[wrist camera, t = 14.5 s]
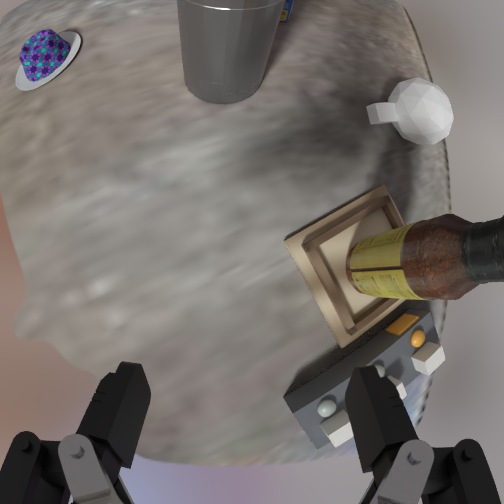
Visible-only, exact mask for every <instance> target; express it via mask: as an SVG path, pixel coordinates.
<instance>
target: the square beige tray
mask: <svg viewBox="0 0 504 504" xmlns="http://www.w3.org/2000/svg"><path fill="white" fill-rule="evenodd" d="M403 226H405V223H404V221H403V219H402V217H401V215H400V213H399V211H398V209H397V207H396V205H395V203H394V201H393V199H392V197H391V195H390V193H389V192H388V190H387V188H386V186H385V184H383V185H381V186H379V187H378V188H376V189H374V190H372V191H371V192H369V193H367V194H365V195H364V196H362V197H360V198H358V199H357V200H355V201H353V202H351V203H350V204H348V205H346V206H344V207H343V208H341V209H339V210H337V211H336V212H334V213H332V214H330V215H329V216H327V217H325V218H323V219H322V220H320V221H318V222H316V223H315V224H313V225H311V226H309V227H308V228H306V229H304V230H302V231H301V232H299V233H297V234H295V235H294V236H292V237H290V238H288V239H287V240H285V241H284V243H285V244H286V246H287V248H288V250H289V252H290V253H291V255H292V257H293V259H294V261H295V263H296V264H297V266H298V268H299V270H300V272H301V274H302V276H303V277H304V279H305V281H306V283H307V285H308V287H309V289H310V290H311V292H312V294H313V296H314V298H315V300H316V302H317V304H318V306H319V307H320V309H321V311H322V313H323V315H324V317H325V319H326V321H327V323H328V325H329V327H330V329H331V330H332V332H333V334H334V336H335V338H336V340H337V342H338V344H339V346H340V347H341V348H344V347H345V346H347V345H348V344H349V343H351V342H352V341H354V340H355V339H356V338H358V337H359V336H360V335H362V334H363V333H365V332H366V331H367V330H369V329H370V328H371V327H373V326H374V325H375V324H376V323H378V322H379V321H380V320H382V319H383V318H384V317H385V316H387V315H388V314H389V313H390V312H392V311H393V310H394V309H395V308H397V307H398V306H399V305H400V304H401V303H403V302H404V301H405V300H406V299H398V298H385V297H373V296H369V295H366V294H362V293H359V292H358V291H356V289H354V287H353V286H352V285H351V284H350V282H349V280H348V278H347V275H346V262H347V257H348V254H349V251H350V250H351V248H352V247H354V246H355V245H356V244H357V243H359V242H360V241H361V240H362V239H364V238H367V237H370V236H373V235H376V234H380V233H383V232H386V231H390V230H393V229H396V228H400V227H403Z"/></svg>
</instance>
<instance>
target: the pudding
mask: <svg viewBox="0 0 504 504" xmlns="http://www.w3.org/2000/svg"><path fill="white" fill-rule="evenodd" d="M66 41H67V42H69V43H70V45H71V50H70V46H69V45H68V43H67V42H66ZM80 43H81V39H80V36H79V35H78V34H77V33H75V32H71V31H69V32H62V33H59V34H57V33H55V32H54V31H53V30H51V29H47V30H42V31H40V32H38V33H37V34H36V35H34V36H32V37H31V38H30V39H29V40H28V41H27V43H25V44H24V46H23V47H22V49H21V53H20V60H21V63H22V64H21V66H20V67H19V70H18V72H17V75H16V85H17V87H18V88H19V89H21V90H26V91H27V90H32V89H35V88H38V87H40V86H42V85H43V84H45V83H47V82H48V81H50V80H51V79H53V78H54V77H55V76H56V75H58V74H59V73H60V72H61V71H62V70H63V69H64V68H65V67H66V66H67V65H68V64H69V63H70V62H71V60H72V59H73V58H74V56H75V55H76V53H77V52H78V49H79V47H80ZM69 52H70V53H69ZM68 53H69V55H68V57H67V59H66V55H67V54H68ZM65 59H66V60H65ZM63 62H64V63H63ZM62 63H63V64H62ZM61 64H62V65H61ZM60 65H61V66H60ZM59 66H60V67H59ZM57 67H59V68H58V69H57V70H56V71H54V70H55V68H57ZM53 71H54V72H53ZM51 73H52V74H51ZM26 77H27V78H26ZM41 77H43V78H44V79H42V80H39V79H40V78H41ZM45 77H46V78H45ZM29 78H30V79H31V81H33V82H31V81H29V80H27V79H29ZM37 80H39V81H37ZM34 81H35V82H34Z"/></svg>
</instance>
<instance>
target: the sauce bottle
mask: <svg viewBox="0 0 504 504" xmlns="http://www.w3.org/2000/svg"><path fill="white" fill-rule="evenodd" d="M346 275H347V278H348V280H349V282H350V284H351V285H352V286H353V287H354V289H356V291H358V292H359V293H362V294H366V295H369V296H373V297H385V298H398V299H417V300H435V299H442V300H456V299H459V298H461V297H462V296H463V295H464V294H466V293H467V292H469V291H471V290H472V289H473V288H475V287H476V286H478V285H479V284H484V283H488V282H504V215H503V217H501V218H499V219H495V220H491V221H487V222H477V223H472V222H469V221H467V220H464V219H462V218H460V217H458V216H456V215H454V214H445V215H442V216H439V217H435V218H432V219H429V220H422V221H418V222H415V223H412V224H409V225H406V226H403V227H400V228H396V229H393V230H390V231H386V232H383V233H380V234H376V235H373V236H370V237H367V238H364V239H362V240H361V241H360V242H359V243H357V244H356V245H355V246H354V247H352V248H351V250H350V251H349V254H348V257H347V262H346Z"/></svg>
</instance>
